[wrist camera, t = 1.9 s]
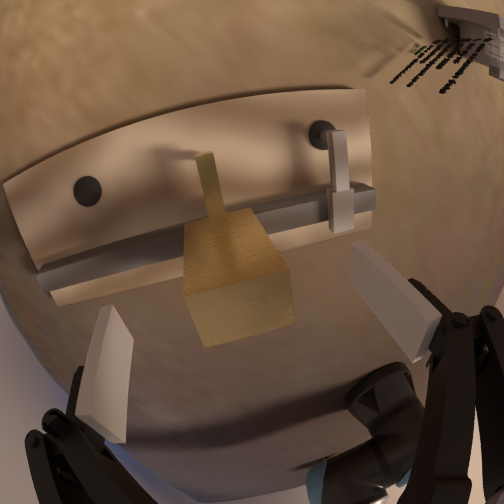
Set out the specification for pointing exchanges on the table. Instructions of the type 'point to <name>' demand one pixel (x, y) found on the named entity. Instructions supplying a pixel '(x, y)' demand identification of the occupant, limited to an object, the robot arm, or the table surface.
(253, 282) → the brass sliding point
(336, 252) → the table surface
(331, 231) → the gauge board
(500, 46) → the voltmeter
